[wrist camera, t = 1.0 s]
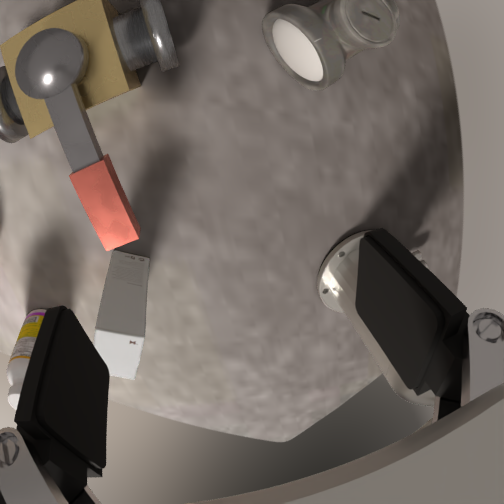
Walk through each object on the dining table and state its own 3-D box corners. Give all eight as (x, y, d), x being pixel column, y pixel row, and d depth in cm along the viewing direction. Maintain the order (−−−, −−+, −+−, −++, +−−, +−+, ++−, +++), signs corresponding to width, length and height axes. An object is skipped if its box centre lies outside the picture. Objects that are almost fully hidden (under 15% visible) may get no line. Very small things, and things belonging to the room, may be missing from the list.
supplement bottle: (66, 349, 38) (52, 428, 27) (24, 333, 35) (0, 410, 24) (75, 317, 36) (57, 402, 25) (28, 299, 33) (-3, 379, 22)
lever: (21, 52, 14) (7, 51, 12) (79, 20, 14) (69, 15, 13) (99, 241, 23) (94, 256, 21) (153, 220, 23) (152, 234, 21)
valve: (157, -4, 21) (152, -30, 14) (180, 72, 25) (182, 70, 18) (8, 68, 20) (-36, 72, 13) (33, 138, 24) (-5, 161, 18)
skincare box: (112, 248, 32) (94, 326, 22) (150, 256, 34) (147, 337, 24) (105, 292, 35) (91, 373, 25) (140, 299, 36) (136, 381, 26)
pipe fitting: (294, 96, 28) (354, 91, 19) (247, 28, 24) (290, -9, 15) (377, 47, 28) (446, 37, 19) (339, -14, 24) (401, -44, 15)
